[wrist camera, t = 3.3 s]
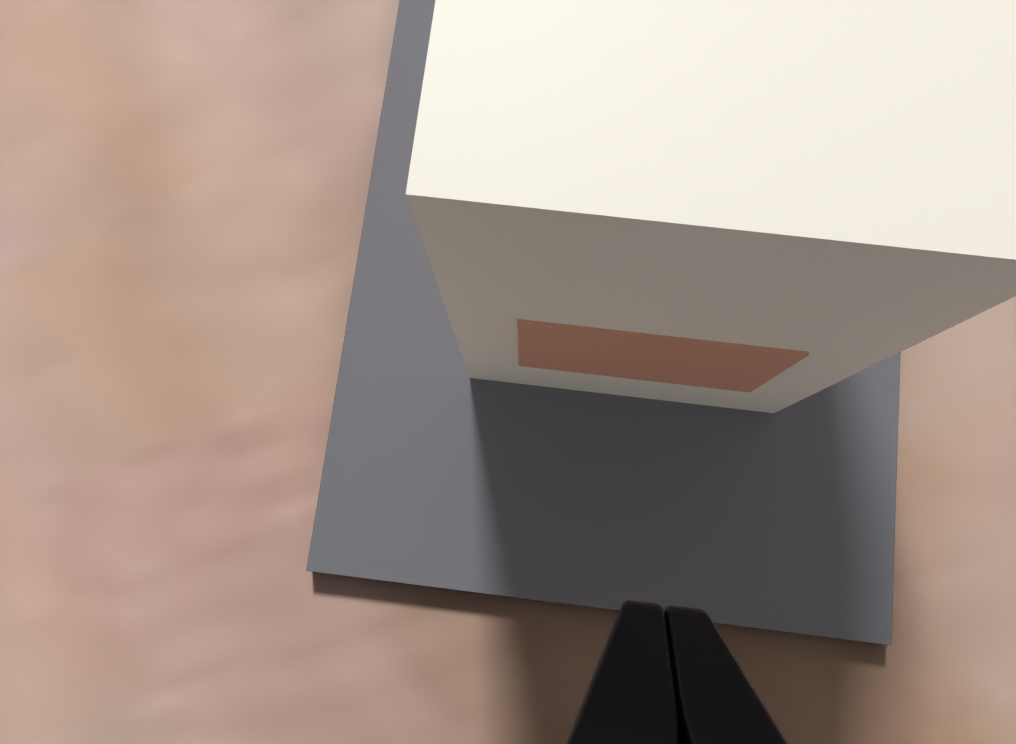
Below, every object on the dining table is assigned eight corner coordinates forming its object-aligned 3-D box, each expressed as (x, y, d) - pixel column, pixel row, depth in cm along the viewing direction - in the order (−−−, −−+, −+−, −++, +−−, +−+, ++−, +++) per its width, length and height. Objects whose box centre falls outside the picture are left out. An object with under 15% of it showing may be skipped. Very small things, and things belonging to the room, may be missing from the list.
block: (773, 415, 16) (1076, 272, 7) (469, 380, 16) (404, 198, 8) (791, 130, 17) (1070, -292, 8) (506, 101, 18) (488, -339, 9)
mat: (881, 642, 16) (891, 644, 15) (311, 569, 16) (306, 571, 16) (910, -203, 19) (918, -218, 19) (443, -242, 20) (441, -258, 19)
